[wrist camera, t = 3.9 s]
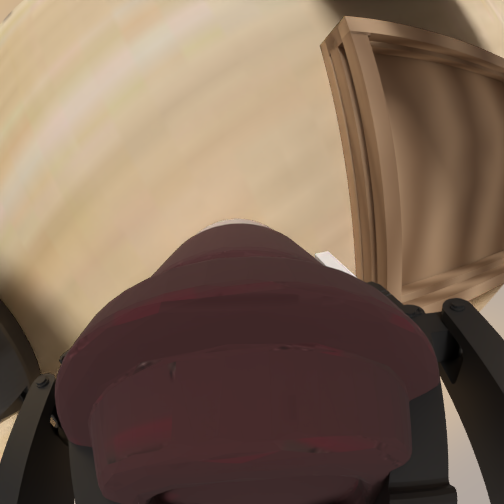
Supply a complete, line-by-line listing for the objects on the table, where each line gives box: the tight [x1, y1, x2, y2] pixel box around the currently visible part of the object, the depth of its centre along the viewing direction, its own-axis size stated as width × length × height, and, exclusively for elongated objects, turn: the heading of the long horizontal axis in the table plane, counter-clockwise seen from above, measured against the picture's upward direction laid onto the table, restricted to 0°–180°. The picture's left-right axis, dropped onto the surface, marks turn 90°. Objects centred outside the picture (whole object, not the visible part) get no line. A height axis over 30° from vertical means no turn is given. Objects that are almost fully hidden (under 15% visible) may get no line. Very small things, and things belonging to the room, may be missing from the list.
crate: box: [320, 16, 504, 313], centre depth 15 cm, size 22×18×4 cm
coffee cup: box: [55, 219, 440, 504], centre depth 11 cm, size 10×10×15 cm
